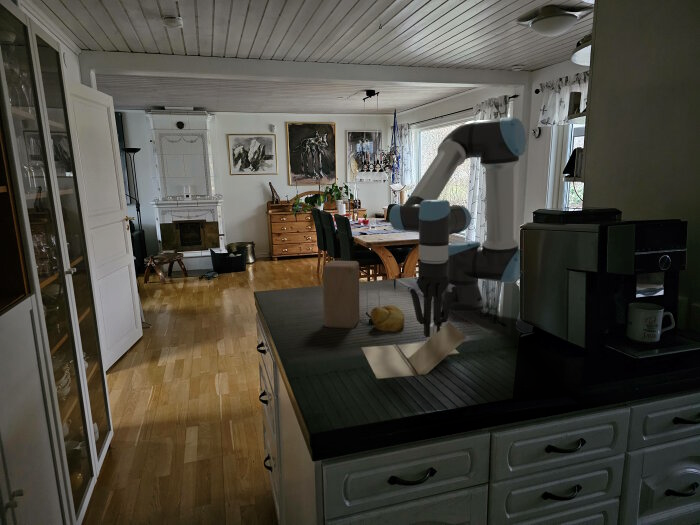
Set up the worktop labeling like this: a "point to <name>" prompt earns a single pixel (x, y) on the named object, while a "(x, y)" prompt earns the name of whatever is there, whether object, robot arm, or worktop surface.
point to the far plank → (412, 348)
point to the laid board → (388, 361)
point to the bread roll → (387, 318)
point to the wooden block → (341, 294)
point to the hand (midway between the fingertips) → (431, 347)
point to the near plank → (436, 349)
